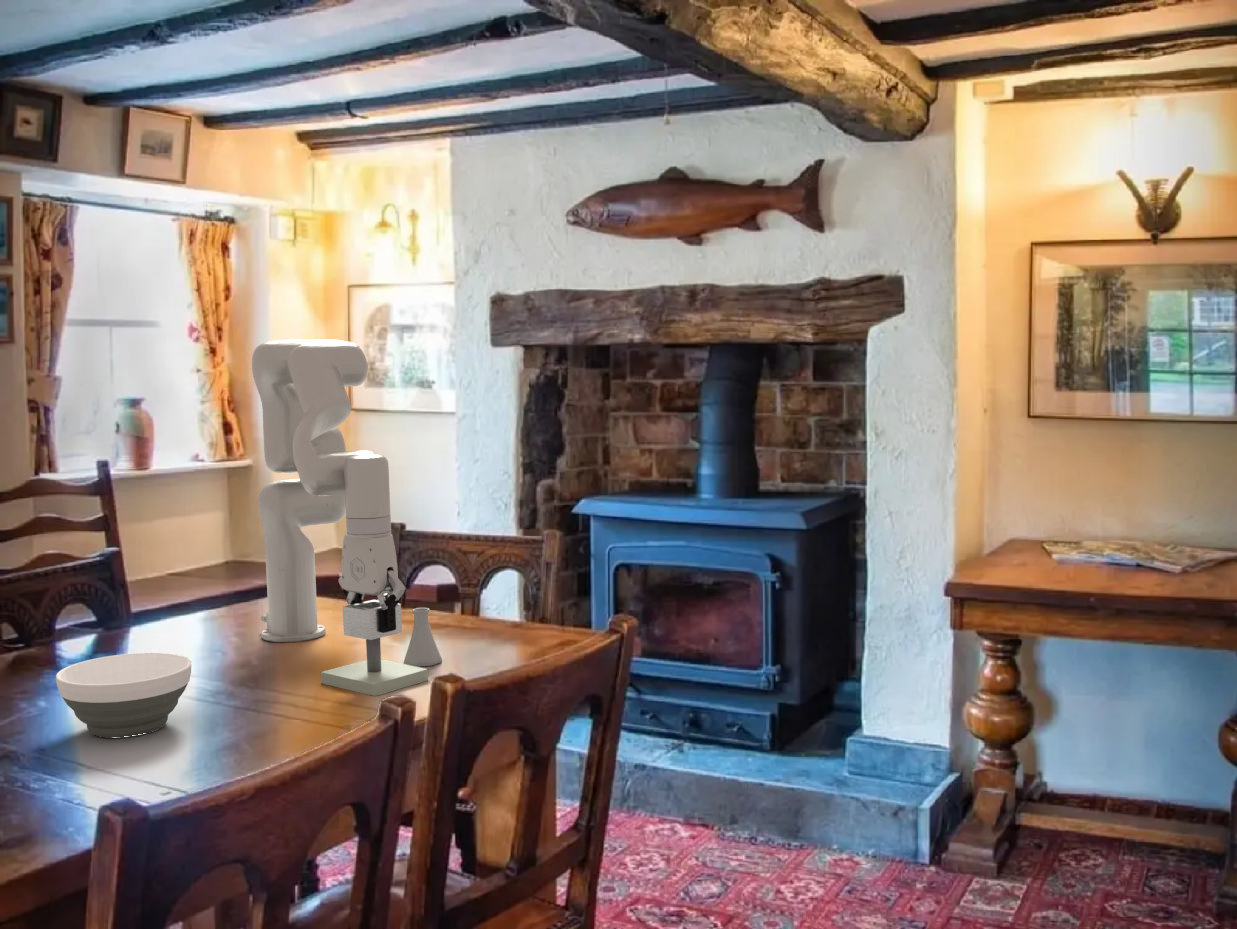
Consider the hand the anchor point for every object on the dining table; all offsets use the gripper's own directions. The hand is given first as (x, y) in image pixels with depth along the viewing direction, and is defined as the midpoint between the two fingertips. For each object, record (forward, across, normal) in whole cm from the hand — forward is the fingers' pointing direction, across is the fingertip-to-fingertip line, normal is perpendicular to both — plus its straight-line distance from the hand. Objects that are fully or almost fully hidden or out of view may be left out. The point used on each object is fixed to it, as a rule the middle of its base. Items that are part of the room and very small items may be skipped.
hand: (373, 627), depth 221 cm
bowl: (+10, -11, -40) cm, 43 cm away
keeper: (+10, 0, 0) cm, 10 cm away
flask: (+10, -3, +14) cm, 17 cm away
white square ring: (+1, 0, 0) cm, 1 cm away
